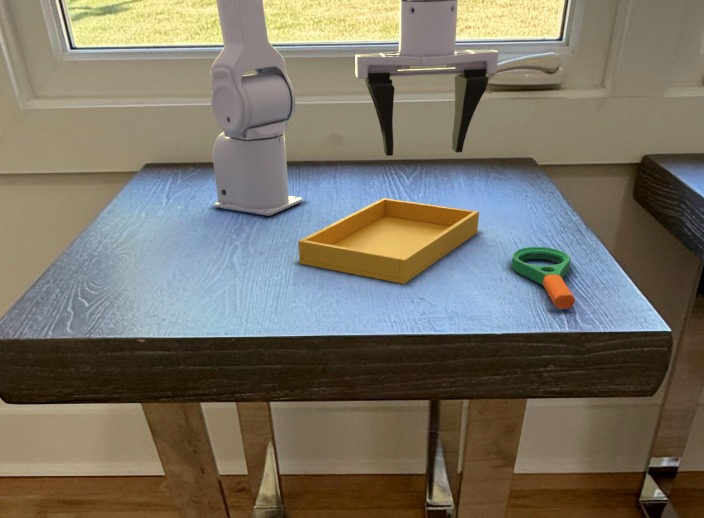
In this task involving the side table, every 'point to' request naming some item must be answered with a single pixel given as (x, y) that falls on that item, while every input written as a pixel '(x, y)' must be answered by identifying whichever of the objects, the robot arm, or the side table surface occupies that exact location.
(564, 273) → the magnifying glass
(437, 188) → the side table surface
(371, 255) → the tray
